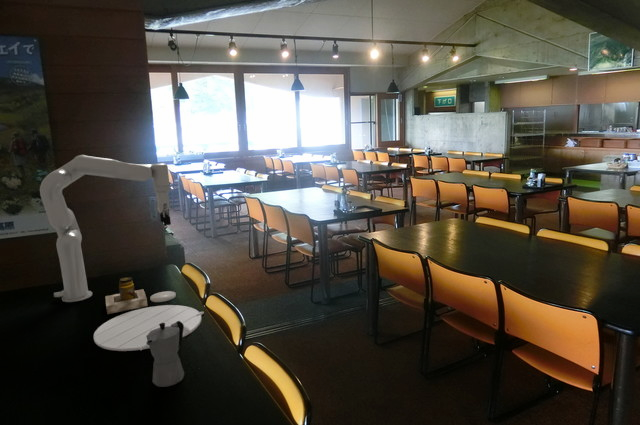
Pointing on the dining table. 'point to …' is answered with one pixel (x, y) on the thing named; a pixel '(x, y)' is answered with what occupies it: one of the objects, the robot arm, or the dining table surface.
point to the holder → (125, 302)
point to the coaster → (163, 296)
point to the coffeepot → (166, 354)
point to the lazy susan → (143, 326)
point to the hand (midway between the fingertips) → (165, 223)
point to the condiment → (126, 289)
